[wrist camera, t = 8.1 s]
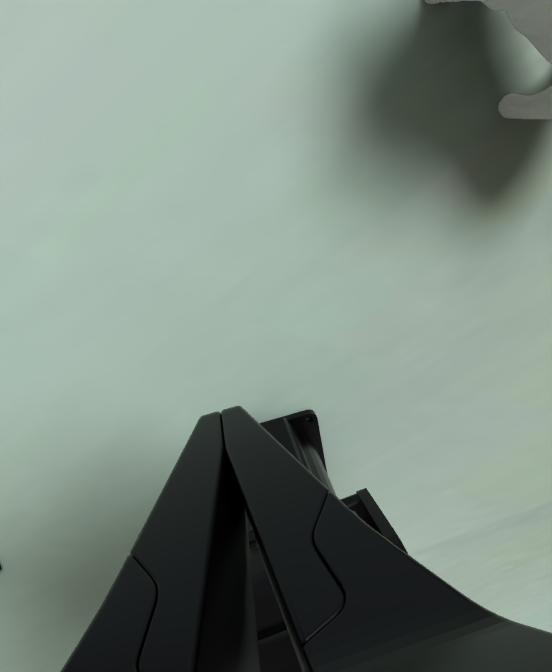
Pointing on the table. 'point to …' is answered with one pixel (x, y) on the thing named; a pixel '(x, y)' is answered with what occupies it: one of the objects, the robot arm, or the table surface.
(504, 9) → the dog figurine
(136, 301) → the table surface
